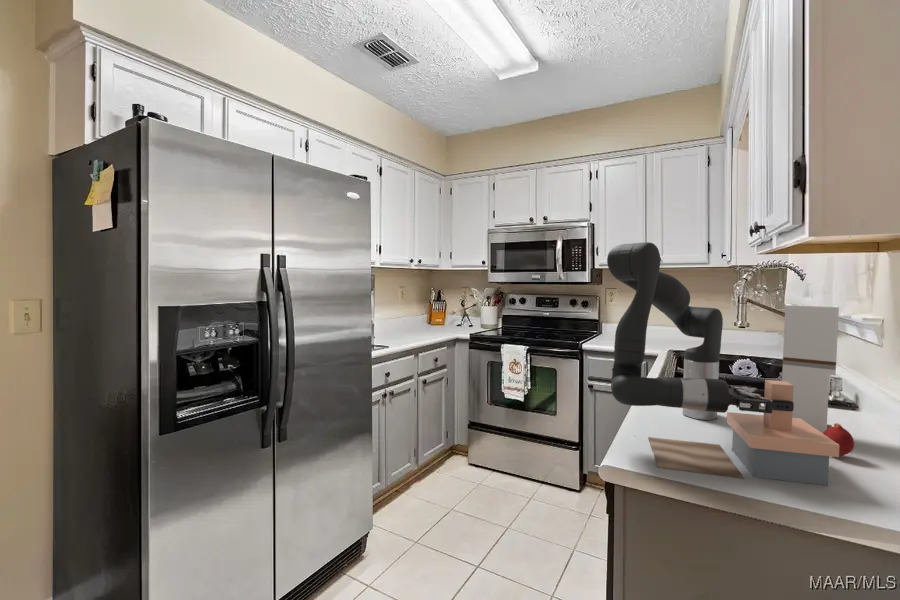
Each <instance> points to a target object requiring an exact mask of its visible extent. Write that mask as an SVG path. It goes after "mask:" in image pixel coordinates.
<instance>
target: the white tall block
mask: <svg viewBox="0 0 900 600" xmlns="http://www.w3.org/2000/svg"><path fill="white" fill-rule="evenodd" d="M839 311H840V307H839V305H838V304H834V305H832V306H831V305H830V306H821V305H820V306H819V305H814V306H812V305H798V304H797V305H795V304H792V303H787V304H786V305H785V306H784V327H783V328H784V329H783V351H782V373H781V381H786V382H788V383H790V384H792V385H794V390H793V403H794V410H793V412H792V418H801V419H802V420H804V421H805V422H806V423H808V424H809V425H811V426H812V427H814V428H815V429H817V430H818V431H820V432H821V433H823V432H824V431H825V430H827V429H828V428H830V427H833V425H832V424H828V414H829V413H828V410H829V395H830V389H831V387H830V386H831V376H836V372H837V371H836V370H837V355H838V354H837V352H838V351H837V350H838V331H839V314H840V313H839Z"/></svg>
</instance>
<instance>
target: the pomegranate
mask: <svg viewBox="0 0 900 600" xmlns="http://www.w3.org/2000/svg"><path fill="white" fill-rule="evenodd" d="M833 425H834V426H832V427H830V428H828V429H827V430H825V431H824V432H823V434H824V435H826V436H827V437H828V438H830V439H831V440H833V441H834V442H836V443H837V444H839V457H838V458H840V457H842V456H846V455H848V454H850V453H851V452H852V451H853V450H854V448H855V440H854V437H853V436H852V434H851V433H850V432H849V431H848V430H847V429H845V428H844V426H842V425H841V424H840V423H837V422H836V423H833Z"/></svg>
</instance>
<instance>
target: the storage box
mask: <svg viewBox="0 0 900 600" xmlns="http://www.w3.org/2000/svg"><path fill="white" fill-rule="evenodd" d="M731 445H732V447H731V451H732V452H733V453H734V454H735V456H737V458H738V460H740V462H741V464H743V466H745V468H746V469H747V471H748V472H749V473H750V474H751V475H752V477H756V478H764V479H773V480H781V481H787V482H793V483H795V482H796V483H804V484H811V485H812V484H813V485H819V486H820V485H821V486H828V485H829V471H830V470H829V466H830V456H822V455H813V454H804V453H794V452H785V451H776V450H767V449H757V448H750V447H749V446H748V445H747V444H746V443H745V442H744V440H743V439H742V438H741V437H740V436H739V435H738V434H737V433H736V432H735V431H734V430H733V429H732V443H731Z"/></svg>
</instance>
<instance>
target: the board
mask: <svg viewBox="0 0 900 600" xmlns="http://www.w3.org/2000/svg"><path fill="white" fill-rule="evenodd" d="M647 439H648V442H649V446H650V449H651V451H652V453H654V454H653V457H654V459H655V462H656V466H657V468H659V469H660V468H662V469H666V470H667V469H668V470H676V471H682V472H691V473H692V472H693V473H697V474H698V473H700V474H707V475H708V474H709V475H715V476H721V477H731V478H739V479H744V475H743V473H741V471H740V470H739V468H738V467H737V466H736V464H735V463H734V462H733V460H732V459H731V458H730V457H729V455H728V454H727V452H726V451H725V450H724V448H722V446H721V444H717V443H709V442H708V443H707V442H698V441H690V440H689V441H688V440H678V439H669V438H659V437H652V436H648V437H647Z"/></svg>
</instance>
